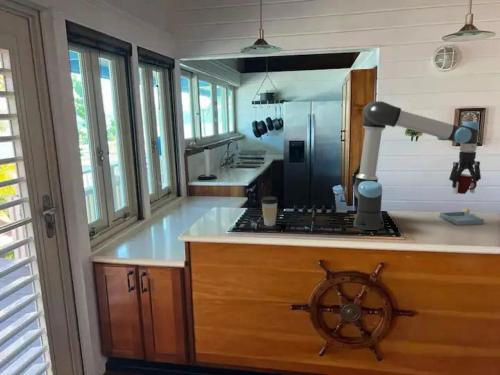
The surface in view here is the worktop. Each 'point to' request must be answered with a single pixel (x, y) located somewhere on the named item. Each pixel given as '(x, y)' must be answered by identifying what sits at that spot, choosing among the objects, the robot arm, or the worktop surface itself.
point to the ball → (466, 210)
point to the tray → (461, 218)
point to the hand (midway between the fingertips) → (463, 193)
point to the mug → (465, 183)
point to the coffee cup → (269, 210)
